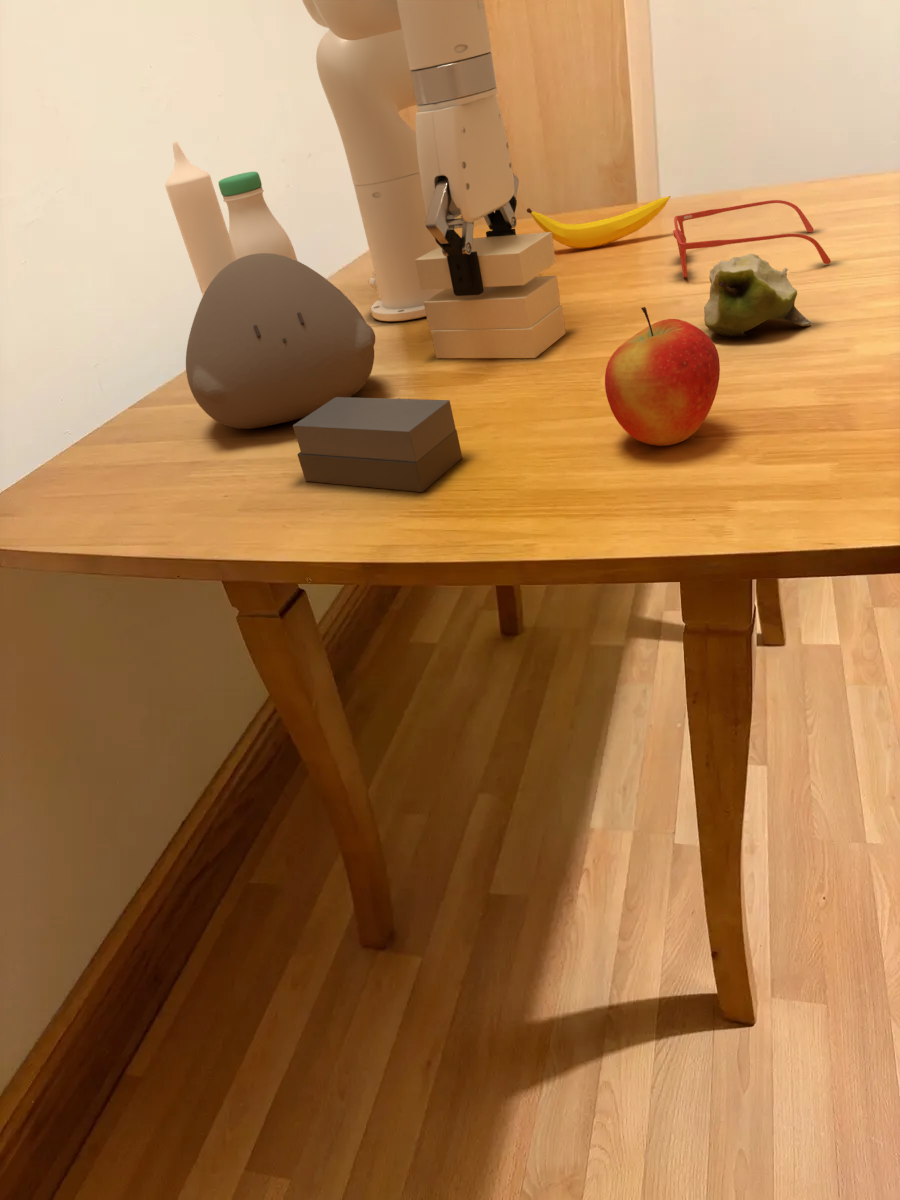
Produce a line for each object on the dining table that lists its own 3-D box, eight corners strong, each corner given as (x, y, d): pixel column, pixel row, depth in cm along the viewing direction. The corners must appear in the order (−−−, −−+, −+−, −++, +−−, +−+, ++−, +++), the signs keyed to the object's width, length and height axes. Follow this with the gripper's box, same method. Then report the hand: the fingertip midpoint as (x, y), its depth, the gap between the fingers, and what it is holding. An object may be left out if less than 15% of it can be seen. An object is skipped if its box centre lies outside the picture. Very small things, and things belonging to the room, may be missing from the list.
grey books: (305, 481, 75) (287, 425, 72) (348, 450, 79) (332, 396, 76) (422, 492, 68) (408, 432, 66) (462, 457, 72) (450, 399, 70)
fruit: (753, 366, 80) (731, 280, 76) (690, 353, 88) (666, 275, 84) (834, 315, 81) (816, 229, 77) (764, 308, 89) (745, 229, 85)
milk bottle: (332, 338, 111) (284, 163, 100) (299, 361, 105) (244, 178, 95) (282, 342, 114) (230, 172, 104) (247, 364, 109) (189, 188, 98)
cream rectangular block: (421, 289, 92) (414, 259, 90) (456, 268, 97) (450, 239, 95) (523, 285, 86) (518, 253, 84) (556, 262, 90) (551, 231, 89)
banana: (672, 238, 119) (669, 186, 115) (531, 259, 124) (524, 211, 121) (673, 232, 121) (670, 182, 117) (535, 253, 127) (528, 206, 123)
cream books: (434, 358, 96) (422, 302, 93) (468, 335, 100) (457, 280, 97) (535, 358, 89) (526, 297, 86) (566, 333, 94) (558, 275, 91)
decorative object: (358, 360, 101) (321, 220, 93) (406, 403, 86) (367, 241, 78) (198, 410, 97) (145, 269, 89) (219, 464, 82) (158, 300, 74)
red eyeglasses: (675, 251, 113) (672, 208, 110) (812, 229, 108) (812, 184, 106) (675, 290, 99) (672, 243, 96) (832, 267, 94) (833, 217, 92)
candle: (297, 373, 101) (223, 129, 88) (267, 398, 96) (184, 141, 83) (244, 378, 104) (165, 141, 91) (213, 402, 98) (124, 154, 85)
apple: (701, 465, 63) (692, 324, 58) (595, 459, 67) (578, 327, 62) (736, 418, 68) (732, 285, 63) (636, 414, 73) (624, 290, 67)
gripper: (468, 75, 90) (497, 258, 99) (367, 109, 78) (412, 312, 88) (534, 62, 86) (558, 254, 95) (438, 96, 74) (477, 310, 84)
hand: (488, 280), depth 91 cm, fingers closed on cream rectangular block, 7 cm apart
